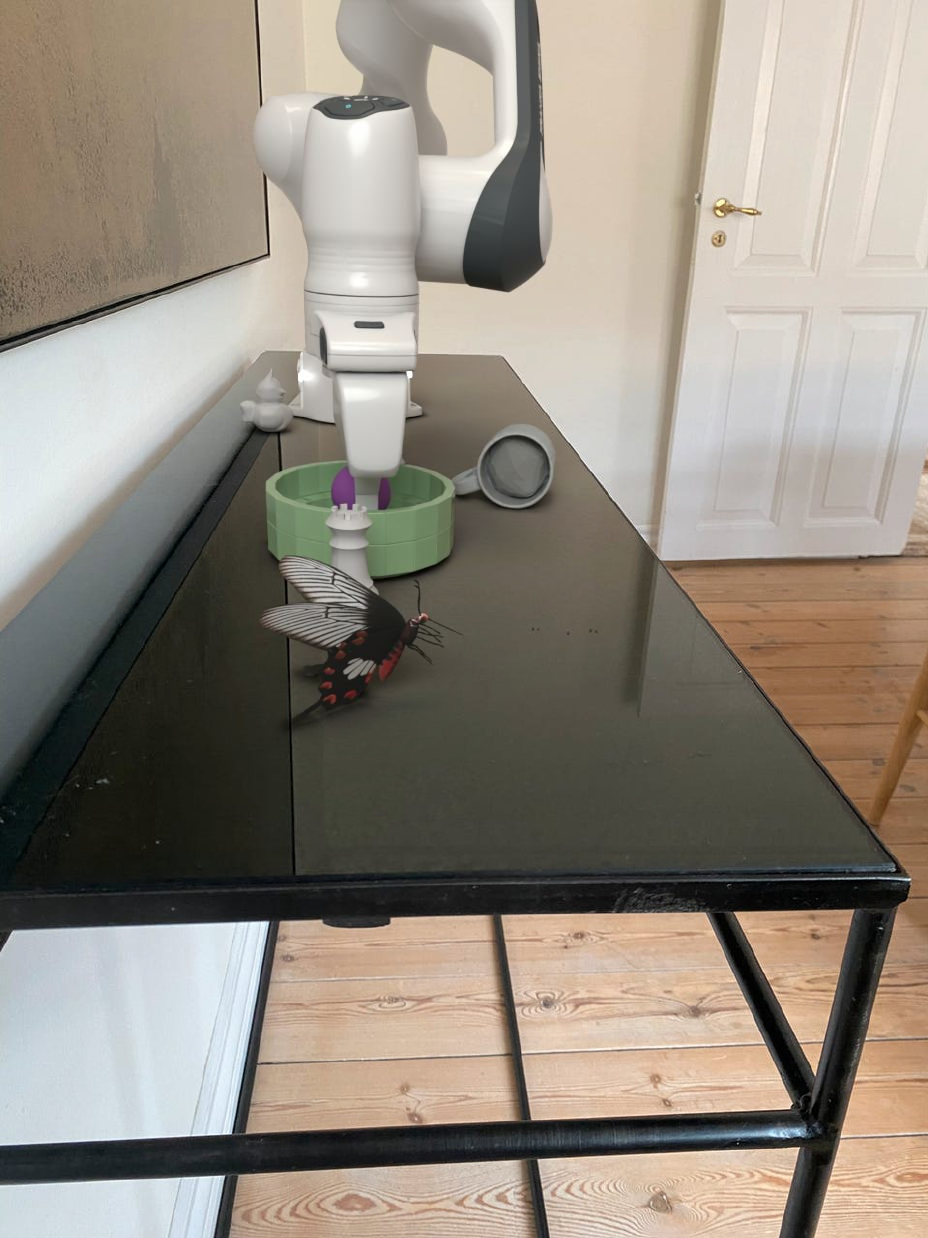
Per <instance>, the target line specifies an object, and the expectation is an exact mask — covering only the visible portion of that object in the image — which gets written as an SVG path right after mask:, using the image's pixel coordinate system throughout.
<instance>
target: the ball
mask: <svg viewBox="0 0 928 1238" xmlns="http://www.w3.org/2000/svg"><path fill="white" fill-rule="evenodd" d="M354 489H355V485H354V477H353V476H351V474H350V472H349V468H348V465H347V466H345V467H344V468H343V469H341V470H340V471H339V472H338V473H337V475H336V476H335V478H334V480H333V483H332V487H331V498H332V501H333V504H334V506H338V509H340V504H347V510H353V504H355V498H354ZM390 498H391V488H390V484H389V481H388V479H387V478H381V482H380V488H379V493H378V510H386V509H387V507H388V505H389V502H390Z"/></svg>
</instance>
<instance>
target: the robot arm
mask: <svg viewBox="0 0 928 1238" xmlns="http://www.w3.org/2000/svg"><path fill="white" fill-rule="evenodd" d="M540 30H541V29H540V21H539V12H538V4H537V0H340V2H339V7H338V10H337V15H336V19H335V34H336V39H337V42H338V43H337V44H338V46H339V48H340V50H341V52H342V54H343V56H344V57H345V59H346V60H347V61H348V62H349V63H350V64H351V65H352V67H354V68H355V69H356V70H357V71H358V72H359V73H360V74H361V75H362V76H363V77H362V84H361V88H360V90H359V92H358V93H357V94H356V95H345V94H337V93H330V92H329V93H327V92H319V91H311V90H303V91H294V92H287V93H281V94H275V95H271V96H269V97H267V98H266V100H265V101H264V102H263V104H261V106H260V108H259V109H258V112H257V114H256V117H255V119H254V123H253V127H252V147H253V152H254V155H255V158H256V161H257V163H258V166H259V167H260V169H261V171H262V172H263V174H264V175H265V177H266V178H267V179H268V180H269V181H270V182H271V183H272V184H273V185H275V187H277V189H278V190H280V191H281V192H282V193H283V195H284V196H285V197H286V198H287V200H288V201H289V203H290V204H291V205H292V207H293V209H294V210H295V212H296V214H297V216H298V218H299V220H300V222H301V227H302V233H303V237H304V240H305V243H306V249H307V268H306V273H305V277H304V282H303V309H304V341H305V342H304V344H305V345H304V346H305V347H304V348H303V350H302V351H301V352H300V353H299V358H298V359H297V364H296V376H297V378H298V383H297V389H298V391H299V393H297V395H296V396H295V397H294V398H293V399H292V400H291V402H289V403H288V404H287V405H288V406H289V407H290V408H291V409H292V411H293V417H303V418H307V419H311V420H314V421H318V422H324V423H331V424H332V423H333V424H335V428H336V431H337V434H338V438H339V441H340V445H341V448H342V451H343V454H344V457H345V460H346V461H347V465H348V468H349V472H350V474H351V476H353V477H354V485H355V489H354V498H355V504H358V505H360V510H361V507H366V508H367V510H378V493H379V488H380V482H381V478H388V477H394V476H396V474H397V472H398V469H399V466H400V462H401V457H402V458H403V447H404V438H405V427H406V418H410V417H412V418H413V417H417V416H422V415H423V407H422V406H421V405H419V404H417V403H415V402H413V401H412V400H411V378H413V372H415V371H416V370H417V366H418V355H419V325H420V284H419V282H420V283H421V282H423V283H436V284H452V285H453V284H455V285H467V286H469V287H471V288H478V289H483V290H489V291H495V292H501V293H511V292H513V291H514V290H516V289H518V288H520V287H521V286H522V285H523V284H525V283H526V282H528V281H529V280H530V279H532V278H533V277H534V276H535V275H536V274H537V273H538V272H539V271H541V270H542V268H543V267H545V265H546V262H547V257H548V255H549V252H550V249H551V244H552V238H553V208H552V201H551V195H550V190H549V185H548V181H547V175H546V160H545V159H546V157H545V155H546V154H545V126H544V125H545V123H544V97H543V96H544V95H543V94H544V92H543V69H542V50H541V48H542V47H541V31H540ZM434 46H436V47H439V48H442V49H444V50H447V51H450V52H453V53H455V54H457V55H460V56H462V57H464V58H466V59H468V60H470V61H472V62H474V63H475V64H477V65H479V66H480V67H481V68H483V69H485V71H487V72H488V73H489V74H490V75H491V76H492V89H493V90H492V94H493V97H492V99H493V133H494V138H493V139H494V144H493V146H492V148H490V149H489V150H488V151H486V152H484V153H481V154H477V155H473V156H471V155H470V156H467V155H466V156H465V155H448V140H447V135H446V132H445V129H444V126H443V125H442V123H441V121H440V119H439V118H438V116H437V115H436V113H435V112H434V110H433V108H432V105H431V103H430V98H429V94H428V91H429V90H428V73H429V72H428V71H429V70H428V69H429V65H430V60H431V56H432V52H433V48H434Z"/></svg>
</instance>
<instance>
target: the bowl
mask: <svg viewBox="0 0 928 1238" xmlns="http://www.w3.org/2000/svg"><path fill="white" fill-rule="evenodd" d="M345 466H347V461H346V459H345V460H342V459H341V460H332V461H331V460H329V461H320V462H319V461H318V462H312V463H306V464H302V465H296V466H292V467H289V468H287V469H284V470H281V471H278V472H276V473H273V475H271V477H269V478H268V479H266V481H265V502H266V503H265V505H266V506H265V507H266V525H267V527H266V528H267V529H266V530H267V548H268V551H269V552H270V553H271V554H273V556H274V557H275V558H276V560H278V561H279V562H280V561H281V559H282V557H284V556H286V555H295V556H302V557H308V558H311V559H315V560H318V561H321V562H323V563H326V564H329V565H331V562H332V546H331V545H330V544H329V541H330V540H331V539H332V531H331V530H330V529H329V527H328V526H327V525H326V523H325V522H326V520H327V519H328V517H329V516H330V515H331V507H333V506H334V504H333V501H332V498H331V487H332V483H333V480H334V478H335V476H336V475H337V473H338V472H339V471H340V470H341V469H343V468H344V467H345ZM387 479H388V481H389V484H390V488H391V498H390V502H389V505H388V507H387V509H386V510H367V516H368V517H369V518H370V519H371V521H372V525H371V526H370V527H369V529H368V530H367V531H366V534H365V535H366V539H367V540H368V541H369V544H368V546H367V547H366V558H367V565H368V572H369V575H370V578H371V579H372V580H377V579H379V580H380V579H388V578H395V577H399V576H400V577H401V576H405V575H409V574H411V573H414V572H418V571H420V570H423V569H426V568H428V567H431V566H435V565H437V564H438V563H440V562H441V561H443V560H444V559H446V558H447V557H449V556H450V554H451V551H452V549H453V547H454V537H455V534H454V533H455V511H456V510H455V508H456V494H455V486H454V485H453V483H452V482H451V480H452V479H450V478H449V477H447V476H445V475H443V474H441V473H439V472H438V471H435V470H432V469H428V468H425V467H422V466H419V465H414V464H408V463H407V464H406V463H404V464H401V463H400V466H399V469H398V472H397V474H396V476H394V477H388V478H387ZM338 511H340V509H338ZM360 511H361V510H360Z"/></svg>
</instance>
